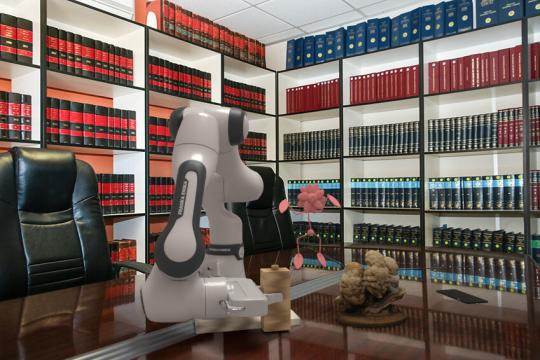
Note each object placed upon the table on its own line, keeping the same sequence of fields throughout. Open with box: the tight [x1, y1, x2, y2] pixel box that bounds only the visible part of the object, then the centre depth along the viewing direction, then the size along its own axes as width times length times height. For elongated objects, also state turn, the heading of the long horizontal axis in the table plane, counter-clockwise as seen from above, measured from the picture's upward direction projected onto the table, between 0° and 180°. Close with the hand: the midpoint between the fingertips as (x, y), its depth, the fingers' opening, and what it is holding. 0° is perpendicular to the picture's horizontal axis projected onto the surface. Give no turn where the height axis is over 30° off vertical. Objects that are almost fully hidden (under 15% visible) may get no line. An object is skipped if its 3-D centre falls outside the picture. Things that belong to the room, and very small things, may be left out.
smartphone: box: [436, 288, 489, 305], centre depth 120 cm, size 7×1×15 cm
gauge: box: [259, 264, 292, 333], centre depth 96 cm, size 6×12×14 cm, turn 13°
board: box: [194, 309, 301, 335], centre depth 98 cm, size 24×9×2 cm, turn 103°
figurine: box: [278, 183, 342, 274], centre depth 165 cm, size 15×26×35 cm, turn 105°
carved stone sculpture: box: [334, 249, 407, 329], centre depth 100 cm, size 18×12×17 cm, turn 103°
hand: (279, 293), depth 92 cm, fingers closed on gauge, 4 cm apart
